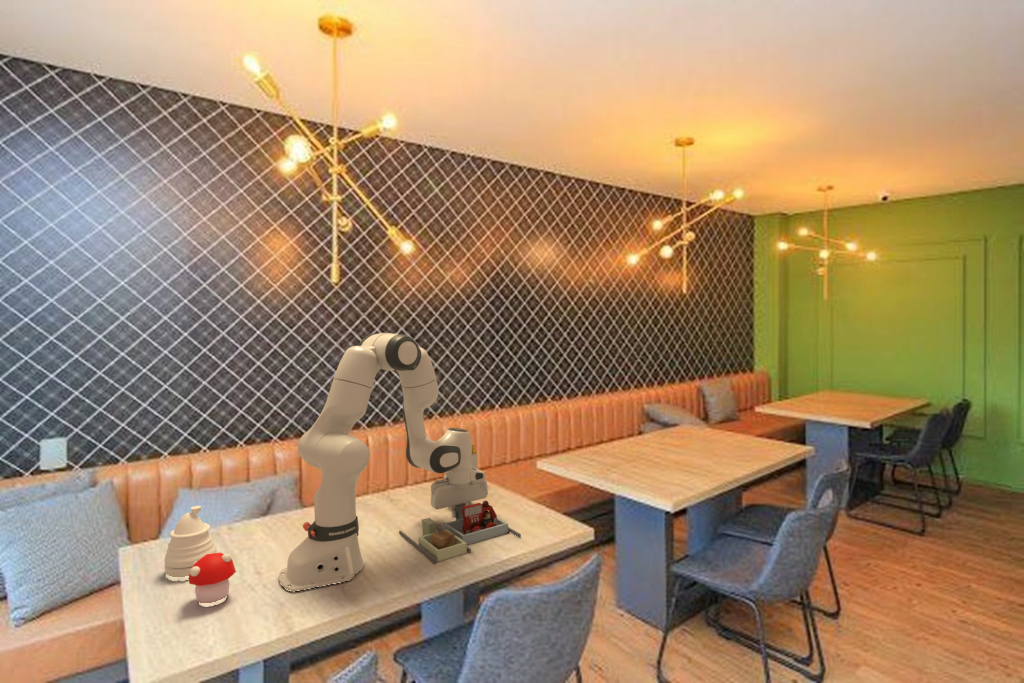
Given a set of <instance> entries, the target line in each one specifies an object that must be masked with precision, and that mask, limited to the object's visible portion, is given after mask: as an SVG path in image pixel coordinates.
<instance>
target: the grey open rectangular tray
mask: <svg viewBox="0 0 1024 683" xmlns="http://www.w3.org/2000/svg"><path fill="white" fill-rule="evenodd" d="M464 506H465V505H463V504H459V505H455V509H456V512H458V517H457V518H455V520H452V521H449V522H444V523H443V530H446V529H447V530H448V531H450V532H451V533H453V534H455V535H456V536H457V537H459V538H460V539H462V540H463V541H464V542H466V543H467V546H468V545H472V544H475V543H477V542H481V541H485V540H489V539H492V538H495V537H498V535H499V536H502V535H505V534H504V533H506V534H508V533H509V532H508V527H509V523H508V522H506V521H504V520H503V519H500V518H499V517H497V526H494V527H490V528H487V529H483V530H479V531H476V532H472V533H469V534H465V533H464V534H463V533H462V532H460V531H459V530H462V527H463V515H462V507H464ZM490 519H491V518H490ZM507 532H508V533H507Z"/></svg>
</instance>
